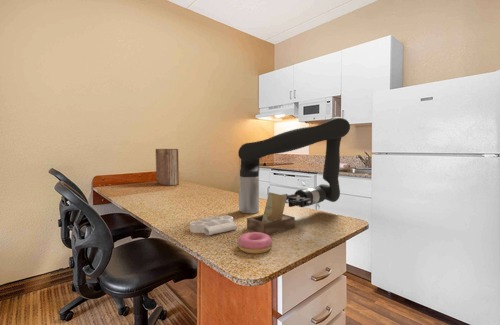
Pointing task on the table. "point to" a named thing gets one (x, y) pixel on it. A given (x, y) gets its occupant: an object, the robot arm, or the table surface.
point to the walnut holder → (270, 224)
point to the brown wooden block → (167, 166)
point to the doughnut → (254, 242)
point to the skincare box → (274, 207)
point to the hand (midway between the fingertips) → (281, 202)
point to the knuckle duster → (213, 225)
